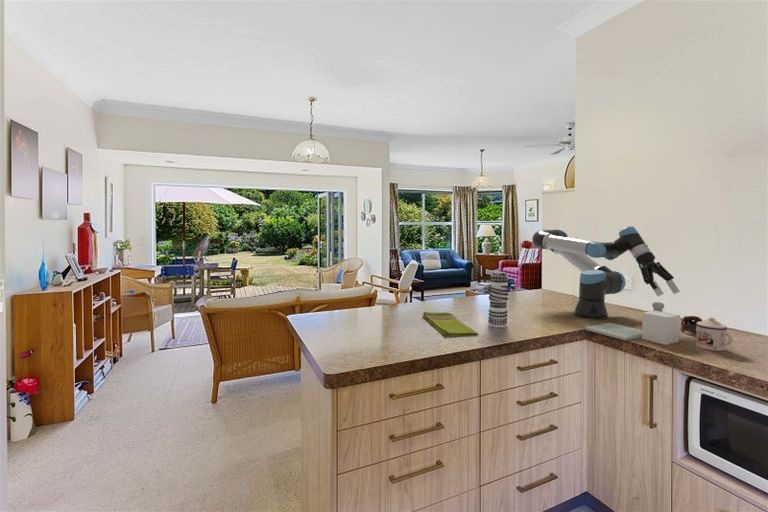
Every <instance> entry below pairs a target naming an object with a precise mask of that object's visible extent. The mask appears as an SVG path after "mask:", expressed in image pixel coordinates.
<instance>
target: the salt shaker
mask: <svg viewBox="0 0 768 512" xmlns="http://www.w3.org/2000/svg"><path fill="white" fill-rule="evenodd" d="M652 308H653V310H652V311H660V312H664V311H663V309H664V308H665V304H664V303H662V302H657V301H655V302H653V303H652Z"/></svg>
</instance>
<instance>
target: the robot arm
mask: <svg viewBox="0 0 768 512" xmlns="http://www.w3.org/2000/svg"><path fill="white" fill-rule="evenodd" d="M618 236H619V237H618V238H617V239H615V240H613V241H612V242H610V241H608V242H599V241H592V240H584V239H579V238H571V237H569V236H568V234H567V232H565V231H563V230H561V229H540V230H537V231H535V233H534V234H533V235H532V239H531V241H532V244H533V246H535V248H537V249H539V250H549V251H550V252H552V253H553V254H556V255H560V256H562V258H564V259H565V260H566V261H567V262H569V263H570V264H571V265H573V266H574V267H575V268H576V269H578V270H579V271H580V272H581V273H580V275H579V290H578V291H579V293H578V301H577V304H576V306H575V309H574V315H575V316H576V317H578V318H583V319H591V320H605V319H608V317H609V316H608V315H609V313H608V309H607V306H606V303H605V300H606V299H605V297H606V295H614V294H619V293H621V292H622V291H623V290H624V289H625V287H626V278H625V276H624V274H622V273H621V272H619V271H615V270H611V269H610V268H609V267H607V266H606V265H600V264H599V263H597V262H596V261H595V260H593V259H592V258H596V259H598V258H604V259H606V260H608V261H613V260H616V259H617V258H619V257H620V256H622V255H623V254H625V253H626V252H627V251H629V252H630V254H631V256H632V257H633V259H635V261H636V263H637V264H638V268H639V269H640V272H641V276H642V279H643V281H644V283H645V284H646V285H649V286H650V287H651V289H652V290H653V292H654V293H655V294H656V296H657V297H660V296H662V295H664V291H663V290H662V288H661V287H660V286H659V284H658V282H657V281H656V280H655V277H654V274H656V275H658V276H659V277H660V278H661V279H663V280H664V281H665V284H666V285H667V286H668V287H669V289H670V290H671V292H672V294H674V295H676V294H678V293H680V292H681V291H680V289H679V287H678V286H677V285H676V283H675V281H674V278H675V277H674V275H672V274H671V273H670V272H669V271H668V270H667V269H666V268H665V267H664V266H663V265H662V264H661V263H660V262H659V261H657V262H655V259H656V256H655V255H654V253H653V252H652V251H651V249H650V248H649V245H648V244H647V243H646V242H645V240H644V239H643V238H642V236H641V235H640V232H639V231H638V230H637V228H635V227H634V226H627V227H624V228H621V229H620V230H619V232H618Z"/></svg>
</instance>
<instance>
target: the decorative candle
mask: <svg viewBox="0 0 768 512" xmlns="http://www.w3.org/2000/svg"><path fill="white" fill-rule="evenodd" d="M508 279H509V275H508V274H507V273H506V272H504V271H492V273H491V274H490V281H489V285H488V291H489V292H488V301H489V309H488V312H489V313H488V317H487V319H488V321H487V322H488V326H490V327H492V326H493V327H492V328H498V327H503V328H507V327H508V307H507V306H508V305H507V303H508V302H509V297H508V296H509V288H510V285H509V283H508ZM506 326H507V327H506Z"/></svg>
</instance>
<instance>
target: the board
mask: <svg viewBox="0 0 768 512" xmlns="http://www.w3.org/2000/svg"><path fill="white" fill-rule="evenodd" d="M584 330H585V331H589V332H592V333H596V334H599V335H604V336H608V337H611V338H615V339H619V340H622V341H630V340H636V339H640V338H642V329H640V328H639V329H638V328H635V327H630V326H626V325H622V324H617V323H612V322H608V323H607V322H606V323H602V324H601V323H600V324H596V325H589V326H584Z"/></svg>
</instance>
